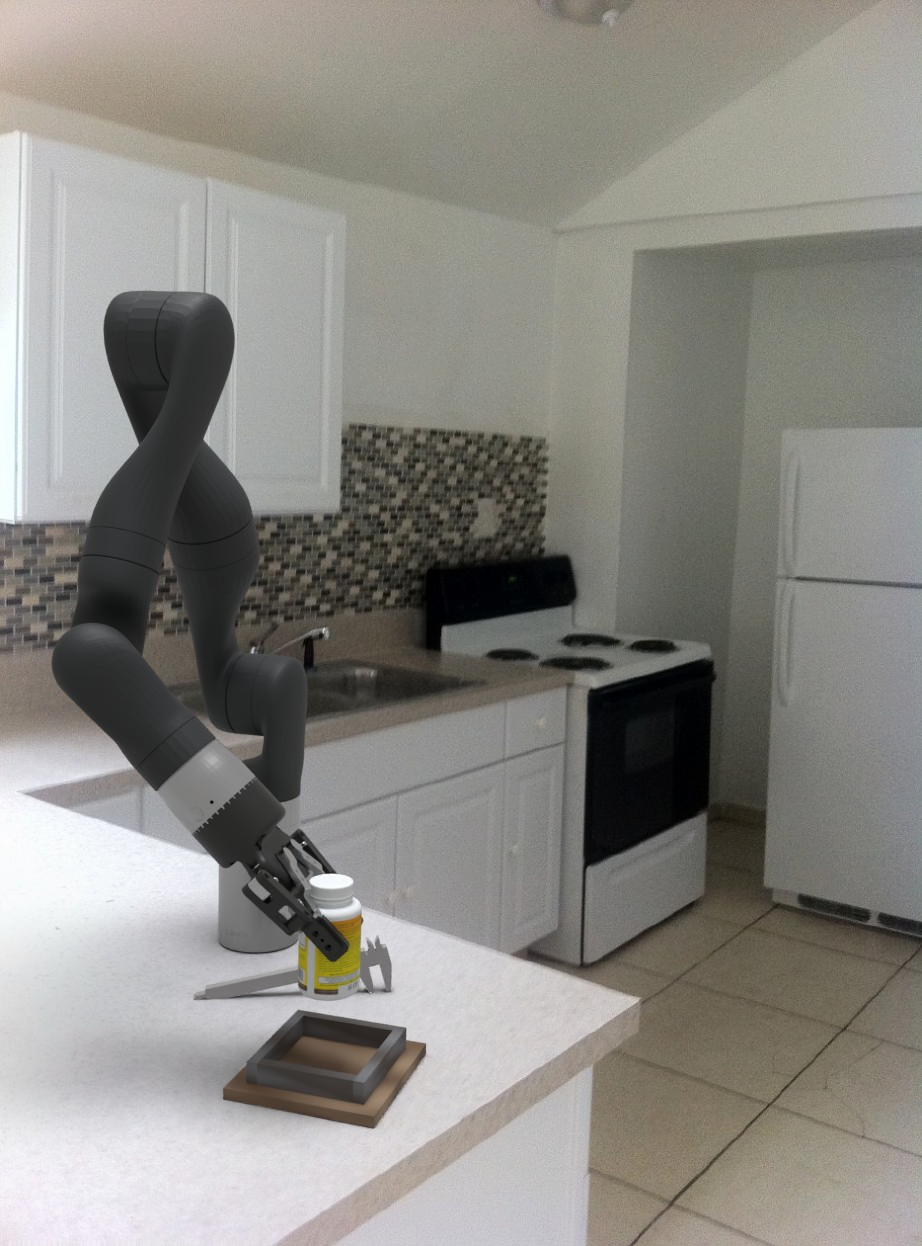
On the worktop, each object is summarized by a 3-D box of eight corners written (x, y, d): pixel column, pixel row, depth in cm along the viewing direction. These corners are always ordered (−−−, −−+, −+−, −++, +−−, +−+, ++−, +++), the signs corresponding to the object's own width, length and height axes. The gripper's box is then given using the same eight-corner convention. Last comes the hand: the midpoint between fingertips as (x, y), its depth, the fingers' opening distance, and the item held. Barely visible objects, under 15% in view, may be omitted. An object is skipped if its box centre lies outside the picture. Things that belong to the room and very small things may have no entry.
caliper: (390, 990, 133) (391, 933, 132) (391, 994, 132) (392, 937, 131) (193, 998, 129) (193, 940, 129) (193, 1003, 128) (193, 944, 127)
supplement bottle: (372, 989, 113) (375, 879, 112) (331, 1009, 109) (334, 895, 107) (325, 972, 116) (328, 866, 115) (284, 991, 112) (286, 881, 110)
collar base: (289, 1030, 122) (290, 1000, 122) (425, 1053, 118) (426, 1023, 118) (223, 1099, 109) (223, 1066, 109) (373, 1127, 105) (374, 1094, 105)
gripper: (226, 796, 104) (364, 945, 104) (272, 757, 118) (393, 889, 118) (164, 853, 105) (300, 1001, 105) (216, 808, 119) (336, 938, 119)
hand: (349, 941), depth 112 cm, fingers closed on supplement bottle, 5 cm apart
